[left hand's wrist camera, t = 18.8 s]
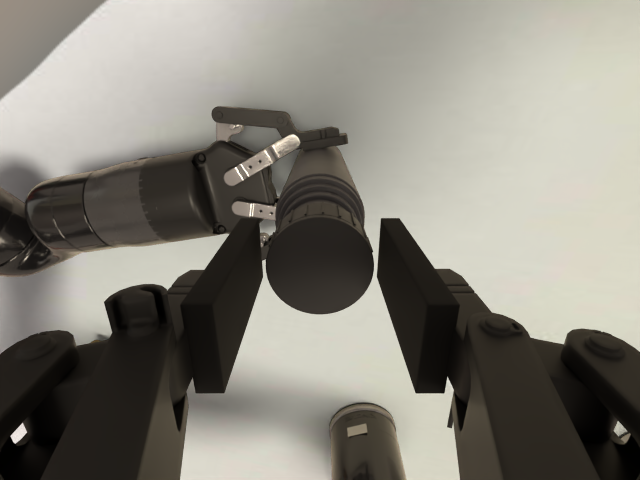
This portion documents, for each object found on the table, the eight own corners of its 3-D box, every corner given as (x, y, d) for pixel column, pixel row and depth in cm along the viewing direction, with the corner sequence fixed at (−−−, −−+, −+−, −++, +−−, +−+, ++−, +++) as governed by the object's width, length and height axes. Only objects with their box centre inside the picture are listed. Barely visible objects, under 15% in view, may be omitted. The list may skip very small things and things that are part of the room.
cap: (251, 244, 14) (241, 264, 13) (324, 180, 13) (324, 192, 12) (316, 306, 16) (315, 333, 14) (387, 252, 14) (397, 272, 13)
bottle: (352, 163, 35) (408, 260, 13) (320, 195, 37) (321, 335, 14) (319, 129, 34) (318, 174, 12) (287, 164, 35) (231, 263, 13)
